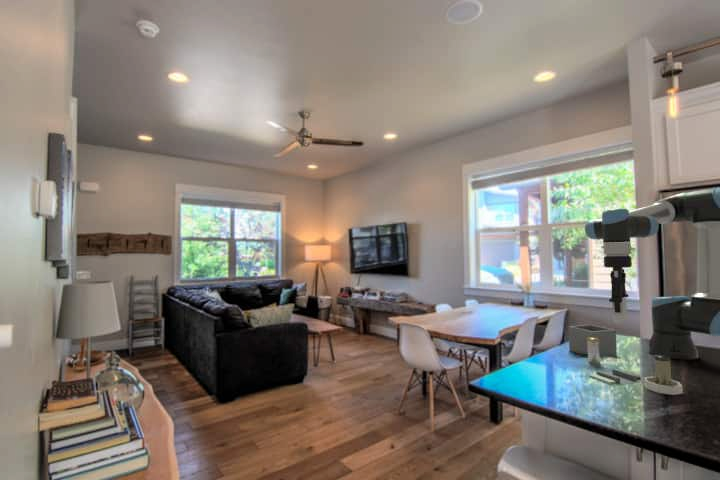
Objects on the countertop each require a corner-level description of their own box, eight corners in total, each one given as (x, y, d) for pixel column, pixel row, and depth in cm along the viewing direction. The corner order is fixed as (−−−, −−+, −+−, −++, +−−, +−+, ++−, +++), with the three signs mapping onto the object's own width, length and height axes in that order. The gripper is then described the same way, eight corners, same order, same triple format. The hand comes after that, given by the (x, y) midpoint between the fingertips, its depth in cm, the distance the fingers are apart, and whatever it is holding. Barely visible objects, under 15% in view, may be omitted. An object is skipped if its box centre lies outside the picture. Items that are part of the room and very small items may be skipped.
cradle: (618, 375, 121) (617, 366, 122) (649, 385, 112) (648, 375, 112) (585, 379, 118) (584, 370, 118) (614, 391, 108) (613, 380, 108)
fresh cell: (593, 364, 134) (592, 337, 134) (602, 367, 130) (601, 339, 130) (585, 365, 133) (584, 337, 133) (594, 368, 129) (593, 340, 130)
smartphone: (610, 352, 150) (609, 349, 151) (597, 359, 141) (596, 356, 141) (588, 348, 157) (588, 345, 157) (574, 355, 147) (574, 352, 147)
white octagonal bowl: (658, 387, 110) (657, 375, 110) (689, 397, 102) (688, 384, 103) (638, 390, 108) (637, 378, 108) (667, 401, 100) (667, 388, 100)
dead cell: (658, 388, 108) (657, 354, 109) (673, 391, 105) (672, 357, 106) (653, 390, 106) (651, 356, 107) (668, 394, 103) (667, 359, 104)
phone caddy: (591, 347, 156) (590, 324, 156) (616, 355, 145) (615, 329, 145) (569, 350, 153) (568, 326, 153) (593, 357, 142) (592, 332, 142)
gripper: (607, 254, 133) (610, 312, 132) (598, 256, 114) (602, 324, 113) (633, 254, 128) (636, 314, 127) (628, 256, 109) (632, 327, 108)
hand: (620, 319), depth 120 cm, fingers open, 13 cm apart
